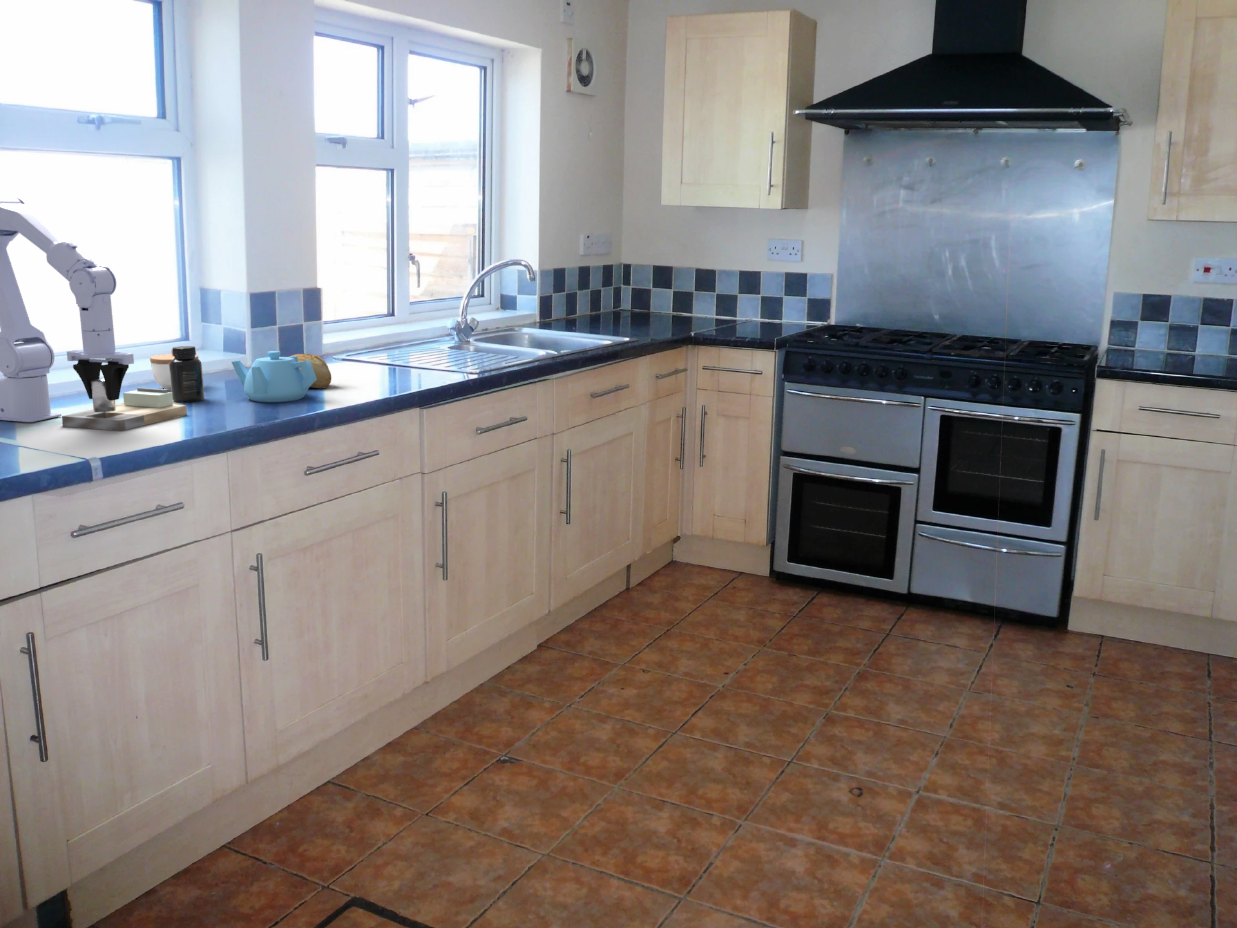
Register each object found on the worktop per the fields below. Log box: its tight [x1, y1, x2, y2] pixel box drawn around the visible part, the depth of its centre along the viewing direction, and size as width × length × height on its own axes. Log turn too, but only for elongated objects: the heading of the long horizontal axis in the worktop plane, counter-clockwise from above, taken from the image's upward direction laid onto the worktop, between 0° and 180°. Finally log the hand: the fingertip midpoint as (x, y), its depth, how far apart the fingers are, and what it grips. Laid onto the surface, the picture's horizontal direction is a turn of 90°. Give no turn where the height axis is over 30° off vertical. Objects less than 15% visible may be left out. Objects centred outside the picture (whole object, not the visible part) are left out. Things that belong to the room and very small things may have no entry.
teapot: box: [231, 350, 317, 403], centre depth 254 cm, size 15×15×11 cm
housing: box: [61, 402, 188, 432], centre depth 227 cm, size 14×19×2 cm
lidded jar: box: [149, 349, 199, 391], centre depth 266 cm, size 11×11×9 cm
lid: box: [122, 387, 174, 408], centre depth 232 cm, size 9×4×3 cm, turn 71°
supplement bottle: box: [169, 345, 205, 403], centre depth 250 cm, size 7×7×12 cm
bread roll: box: [289, 353, 332, 389], centre depth 271 cm, size 10×15×8 cm, turn 74°
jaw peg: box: [91, 378, 116, 412], centre depth 220 cm, size 4×4×6 cm
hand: (104, 399), depth 221 cm, fingers open, 4 cm apart
